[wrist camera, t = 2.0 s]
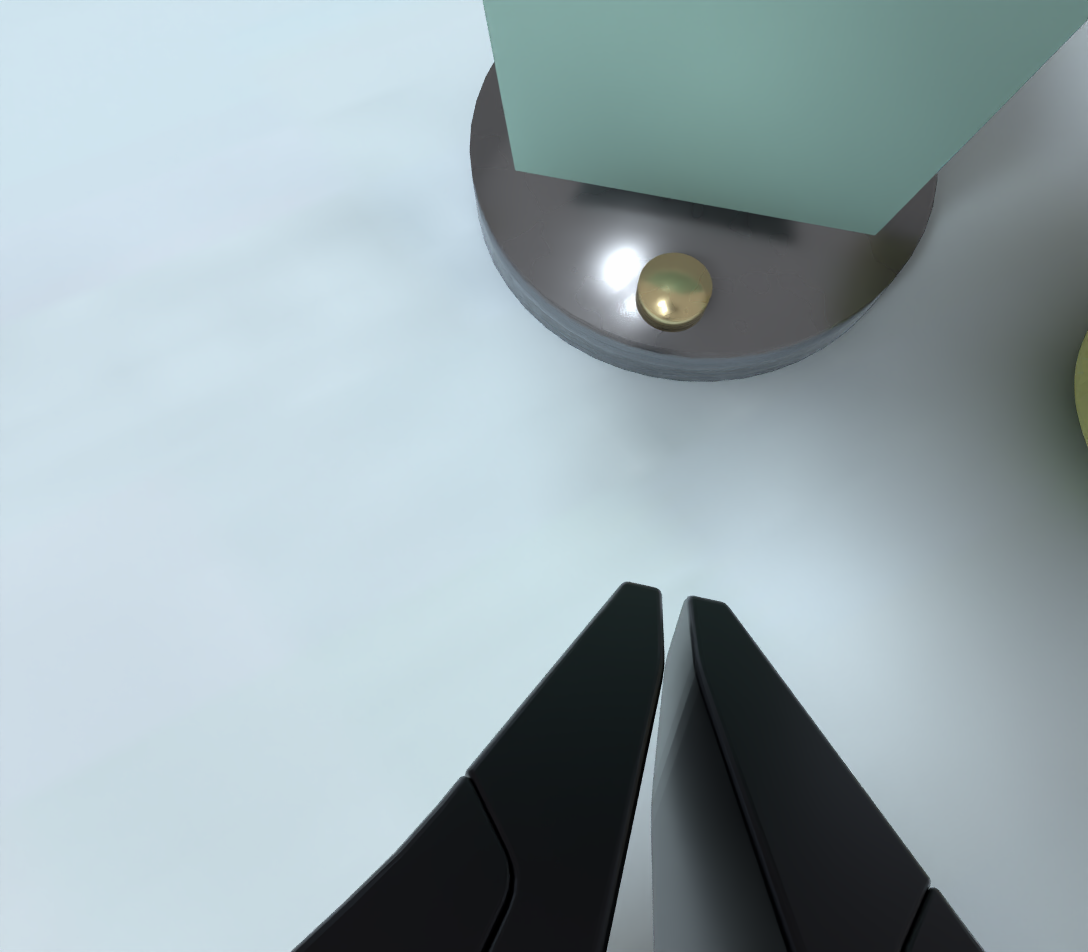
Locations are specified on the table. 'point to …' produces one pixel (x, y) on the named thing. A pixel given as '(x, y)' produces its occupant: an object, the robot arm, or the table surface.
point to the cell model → (1082, 387)
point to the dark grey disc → (675, 267)
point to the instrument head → (764, 94)
